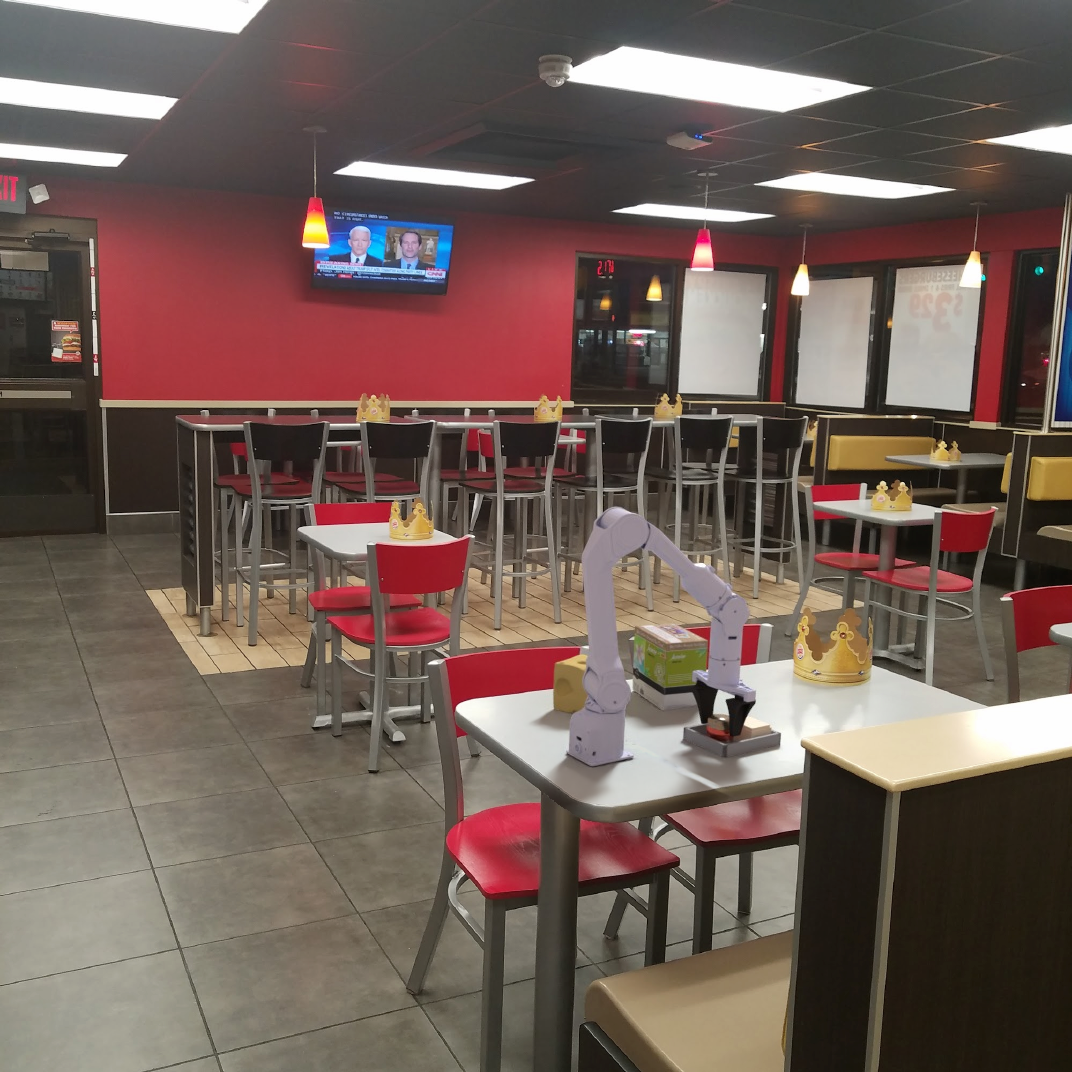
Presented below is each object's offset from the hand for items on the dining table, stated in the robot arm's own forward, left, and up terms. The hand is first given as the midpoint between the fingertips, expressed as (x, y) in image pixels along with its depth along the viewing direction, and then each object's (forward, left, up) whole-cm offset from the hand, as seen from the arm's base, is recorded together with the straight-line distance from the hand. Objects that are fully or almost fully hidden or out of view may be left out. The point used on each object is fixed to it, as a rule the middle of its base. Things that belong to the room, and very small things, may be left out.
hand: (720, 729), depth 191 cm
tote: (+3, 0, -4) cm, 5 cm away
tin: (0, 0, -3) cm, 3 cm away
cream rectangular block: (+6, 0, -3) cm, 7 cm away
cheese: (-8, +30, -4) cm, 32 cm away
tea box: (+11, +28, -4) cm, 30 cm away
